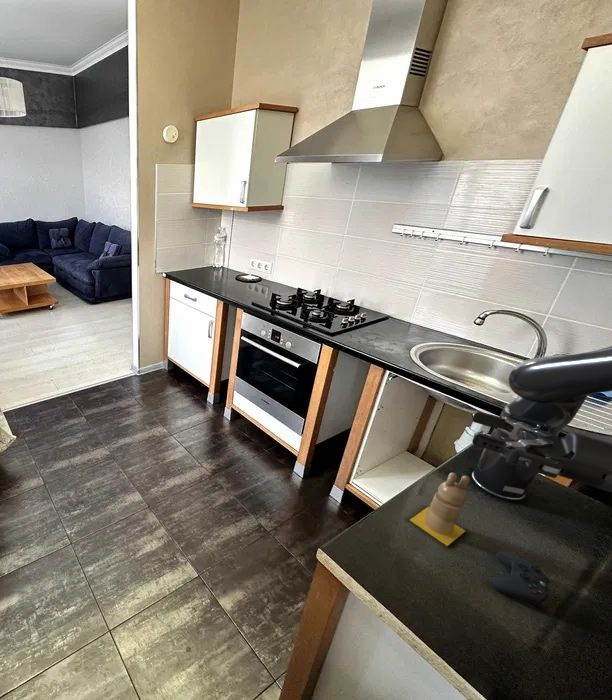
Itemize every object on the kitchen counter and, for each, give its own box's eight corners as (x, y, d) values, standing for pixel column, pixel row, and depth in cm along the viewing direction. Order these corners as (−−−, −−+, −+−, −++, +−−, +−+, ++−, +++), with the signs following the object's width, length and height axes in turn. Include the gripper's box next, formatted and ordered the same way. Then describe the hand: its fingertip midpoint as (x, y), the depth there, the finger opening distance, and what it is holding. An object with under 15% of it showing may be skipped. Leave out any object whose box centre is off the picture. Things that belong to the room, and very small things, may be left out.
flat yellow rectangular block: (427, 507, 82) (428, 506, 81) (464, 531, 76) (465, 530, 76) (409, 520, 78) (410, 519, 78) (447, 546, 73) (447, 545, 73)
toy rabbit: (422, 513, 80) (442, 464, 74) (447, 520, 78) (471, 470, 73) (427, 530, 76) (449, 479, 70) (454, 537, 74) (479, 486, 69)
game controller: (494, 549, 71) (534, 548, 67) (512, 576, 70) (554, 576, 66) (487, 583, 65) (531, 585, 61) (507, 613, 64) (554, 617, 60)
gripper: (605, 424, 62) (480, 392, 71) (632, 472, 52) (482, 427, 61) (583, 460, 65) (466, 425, 75) (604, 511, 55) (465, 463, 64)
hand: (473, 426), depth 68 cm, fingers open, 8 cm apart
